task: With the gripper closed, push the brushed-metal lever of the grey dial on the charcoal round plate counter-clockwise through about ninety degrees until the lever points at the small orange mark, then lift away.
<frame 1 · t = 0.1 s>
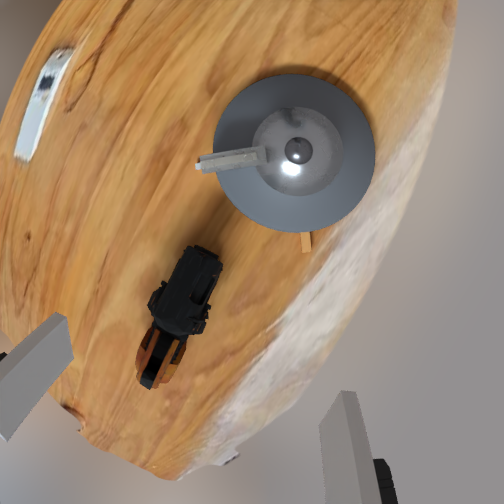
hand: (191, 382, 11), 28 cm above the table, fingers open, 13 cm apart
dial: (273, 154, 30), point 4 cm above the table, hinge at -70.0°
tool: (184, 304, 43), on the table
dial plate: (294, 152, 34), on the table
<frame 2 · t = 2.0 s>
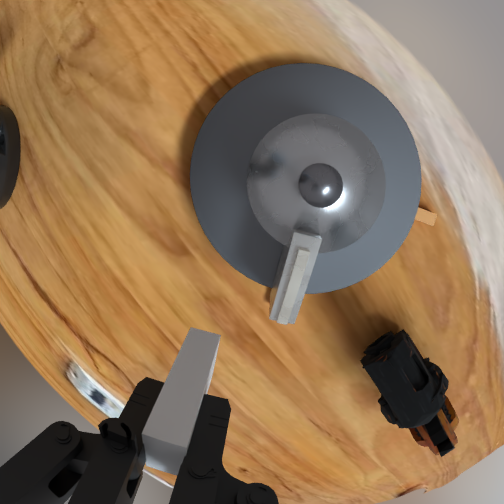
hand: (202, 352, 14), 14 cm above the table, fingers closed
dial: (307, 219, 21), point 4 cm above the table, hinge at -70.0°
tool: (405, 371, 31), on the table
dial plate: (309, 178, 24), on the table
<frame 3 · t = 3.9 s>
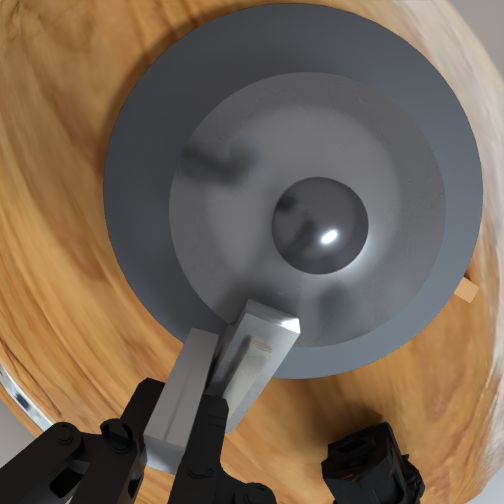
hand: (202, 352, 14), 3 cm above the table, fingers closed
dial: (282, 282, 11), point 4 cm above the table, hinge at -69.6°, touching gripper
tool: (375, 456, 22), on the table
dial plate: (303, 199, 14), on the table
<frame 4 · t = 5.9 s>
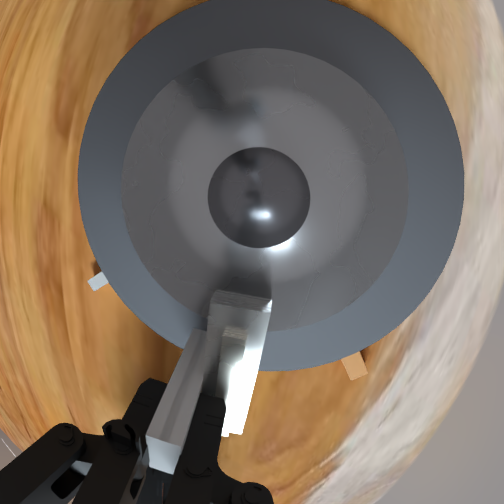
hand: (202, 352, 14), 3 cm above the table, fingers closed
dial: (249, 266, 11), point 4 cm above the table, hinge at -17.5°, touching gripper
tool: (185, 457, 23), on the table
dial plate: (268, 183, 14), on the table
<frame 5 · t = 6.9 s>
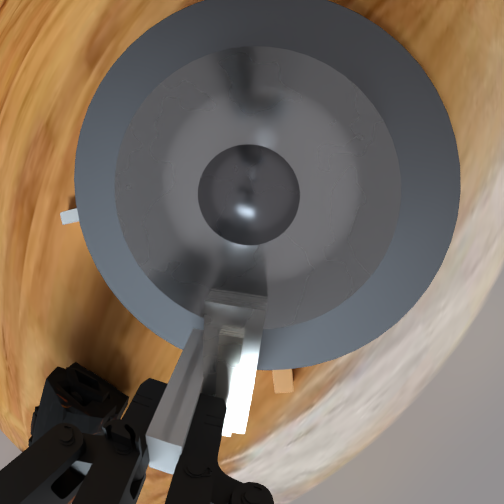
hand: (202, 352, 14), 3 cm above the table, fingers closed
dial: (244, 264, 11), point 4 cm above the table, hinge at 5.9°, touching gripper
tool: (96, 412, 23), on the table
dial plate: (262, 181, 14), on the table
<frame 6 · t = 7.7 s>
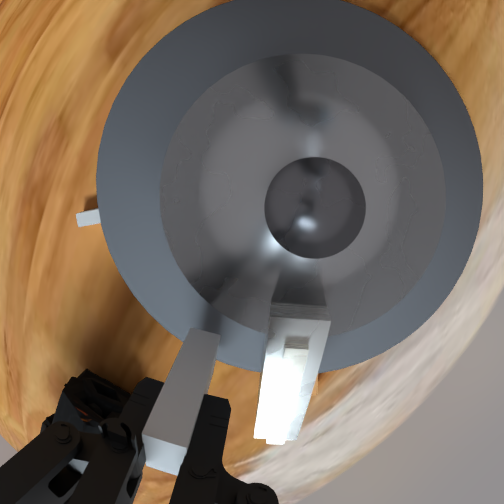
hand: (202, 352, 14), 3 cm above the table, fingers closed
dial: (300, 275, 10), point 4 cm above the table, hinge at 9.4°
tool: (105, 417, 22), on the table
dial plate: (299, 188, 14), on the table
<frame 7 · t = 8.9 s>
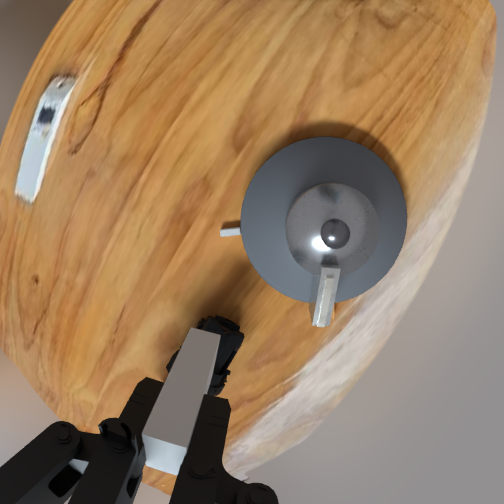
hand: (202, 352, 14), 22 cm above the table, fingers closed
dial: (329, 255, 30), point 4 cm above the table, hinge at 9.3°
tool: (199, 357, 42), on the table
dial plate: (325, 221, 33), on the table
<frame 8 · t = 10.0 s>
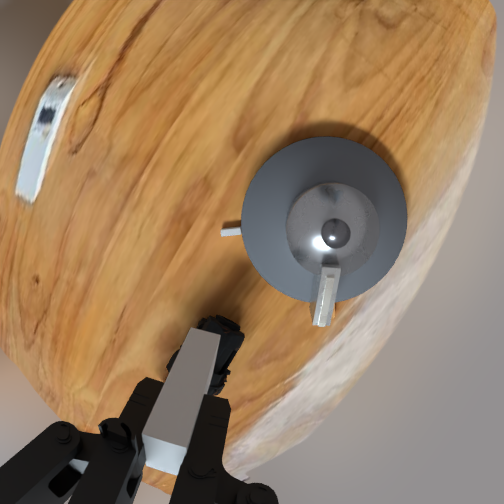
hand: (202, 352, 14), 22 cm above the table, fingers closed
dial: (329, 255, 30), point 4 cm above the table, hinge at 9.3°
tool: (199, 357, 42), on the table
dial plate: (326, 221, 33), on the table
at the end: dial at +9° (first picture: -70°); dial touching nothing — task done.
